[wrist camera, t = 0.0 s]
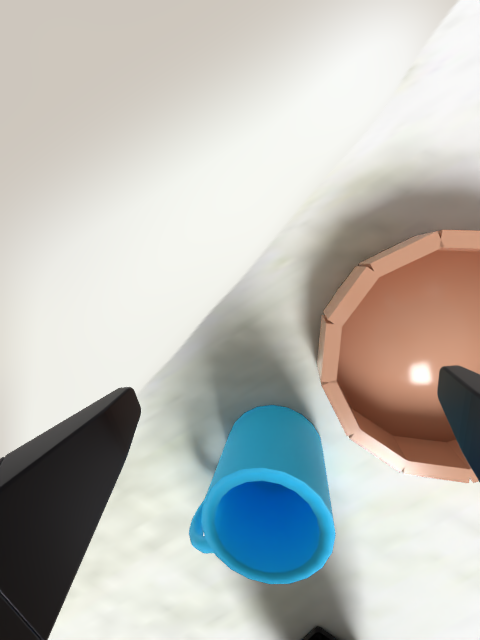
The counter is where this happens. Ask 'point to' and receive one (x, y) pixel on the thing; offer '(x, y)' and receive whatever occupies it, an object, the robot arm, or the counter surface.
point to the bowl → (404, 349)
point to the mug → (268, 500)
